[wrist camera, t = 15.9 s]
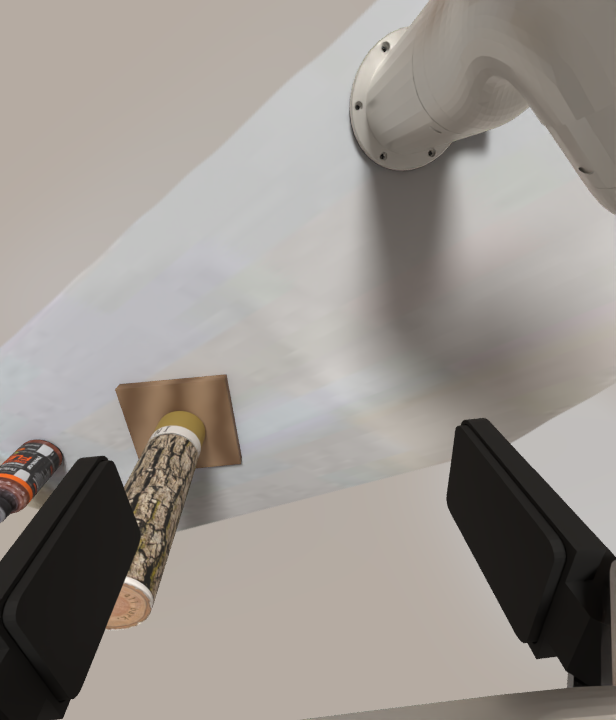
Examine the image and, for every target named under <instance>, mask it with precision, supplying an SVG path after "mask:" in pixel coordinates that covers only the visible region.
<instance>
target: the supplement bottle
mask: <svg viewBox="0 0 616 720" xmlns="http://www.w3.org/2000/svg"><path fill="white" fill-rule="evenodd" d="M61 462H62V455H61V452H60V451H59V449H58V448H57V447H56V446H55V445H53V444H51V443H50V442H47V441H44V440H30V441H28V442H26V443H24V444H23V445H22V446H21V447H19V448H18V449H17V450H16V451H15V452H14V453H13V454H12V455H11V456H10V457H9V458H8V459H7V460H6V461H5V462H4V463H3V464H2V465H1V466H0V523H1V522H2V521H4V520H5V519H6V517H7V516H9V515H10V514H12V513H15V512H19V511H20V510H22V509H23V508H25V507H26V506H27V504H28V503H29V502H30V501H31V500H32V498H33V497H34V496H35V495H36V494H37V492H38V491H39V490H40V489H41V487H42V486H43V485H44V484H45V483H46V481H47V480H48V479H49V478H50V477H51V475H52V474H53V473H54V472H55V471H56V469H57V468H58V467H59V466H60V464H61Z"/></svg>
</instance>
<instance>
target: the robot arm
mask: <svg viewBox="0 0 616 720" xmlns="http://www.w3.org/2000/svg"><path fill="white" fill-rule="evenodd" d="M382 47H384V48H385V49H386V51H385V52H383V51H382ZM356 105H358V106H359V110H356V109H355V106H356ZM529 107H530V108H531V109H532V110H533V112H534V113H535V115H536V116H537V118H538V119H539V121H540V122H541V124H543V125H544V126H546V128H547V129H548V131H549V132H550V134H551V135H552V137H553V138H554V140H555V141H556V143H557V144H558V146H559V147H560V148H561V150H562V151H563V153H564V154H565V156H566V157H567V159H568V160H569V162H570V163H571V165H572V166H573V168H574V169H575V171H576V172H577V174H578V175H579V177H580V178H581V180H582V181H583V183H584V184H585V185H586V187H587V188H588V190H589V191H590V192H591V193H592V195H593V196H594V197H595V198H596V200H597V201H598V202H599V203H600V204H601V205H602V206H603V207H604V208H605V209H607V210H608V211H610V212H611V213H613V214H614V215H616V0H429V2H428V3H427V4H426V6H425V7H424V8H423V10H422V11H421V12H420V13H419V15H418V16H417V17H416V19H415V20H414V21H413V23H412V24H411V25H410V26H409V27H404V28H400V29H398V30H395V31H393V32H391V33H389V34H388V35H386V36H385V37H384V38H382V39H381V40H379V41H378V42H377V43H376V45H375V46H374V47H373V48H372V49H371V50H370V51H369V52H368V54H367V55H366V57H365V58H364V60H363V62H362V63H361V65H360V67H359V69H358V71H357V74H356V76H355V79H354V82H353V85H352V91H351V96H350V117H351V125H352V128H353V131H354V135H355V137H356V139H357V141H358V143H359V145H360V147H361V148H362V150H363V151H364V152H365V153H366V155H367V156H368V157H369V158H370V159H372V160H373V161H374V162H375V163H377V164H379V165H381V166H383V167H384V168H388V169H392V170H401V171H405V170H412V169H416V168H419V167H422V166H424V165H426V164H428V163H430V162H432V161H433V160H435V159H436V158H437V157H439V156H440V155H441V154H442V153H443V152H444V151H445V150H446V149H447V148H448V147H449V146H450V144H451V143H452V142H453V141H457V140H460V139H463V138H466V137H470V136H473V135H476V134H479V133H483V132H486V131H488V130H491V129H494V128H497V127H499V126H501V125H504V124H506V123H508V122H510V121H511V120H513V119H515V118H516V117H517V116H519V115H520V114H521V113H523V112H524V111H525V110H526V109H528V108H529ZM429 151H430V152H431V155H430V156H429V155H428V152H429ZM381 154H382V155H383V159H380V155H381ZM447 505H448V508H449V511H450V513H451V515H452V517H453V518H454V520H455V522H456V524H457V526H458V528H459V530H460V531H461V533H462V535H463V537H464V539H465V541H466V543H467V545H468V546H469V548H470V550H471V552H472V554H473V555H474V557H475V559H476V561H477V563H478V565H479V567H480V569H481V570H482V572H483V574H484V576H485V578H486V579H487V582H488V584H489V585H490V587H491V589H492V591H493V593H494V595H495V596H496V598H497V600H498V602H499V604H500V606H501V608H502V610H503V611H504V613H505V615H506V617H507V619H508V621H509V623H510V624H511V626H512V628H513V630H514V632H515V634H516V635H517V637H518V638H519V640H520V641H521V642H523V643H528V645H529V647H530V648H531V650H532V652H533V654H534V656H535V658H536V659H540V658H549V657H558V659H559V660H560V662H561V663H562V665H563V667H564V669H565V670H566V671H567V672H568V680H567V688H564V689H554V690H544V691H534V692H525V693H514V694H504V695H495V696H487V697H479V698H471V699H463V700H454V701H447V702H438V703H430V704H422V705H414V706H405V707H398V708H389V709H381V710H374V711H365V712H357V713H350V714H342V715H334V716H326V717H318V718H310V719H303V720H616V557H615V556H614V555H613V554H612V552H611V551H610V550H609V549H608V548H607V547H606V546H605V545H604V544H603V543H602V542H601V541H600V539H599V538H598V537H596V535H595V534H594V533H593V532H592V531H591V530H590V529H589V528H588V527H587V526H586V524H584V522H583V521H582V520H581V519H580V518H579V517H578V516H577V515H576V514H575V512H573V510H572V509H571V508H570V507H569V506H568V505H567V504H566V503H565V502H564V501H563V500H562V498H560V496H559V495H558V494H557V493H556V492H555V491H554V490H553V489H552V488H551V487H550V486H549V484H548V483H547V482H546V481H545V480H544V479H543V478H542V477H541V476H540V475H539V474H538V473H537V472H536V470H535V469H533V468H532V467H531V466H530V465H529V464H528V462H527V461H526V460H525V459H524V458H523V457H522V456H521V455H520V454H519V453H518V452H517V451H516V449H515V448H514V447H513V446H512V445H511V444H510V443H509V442H508V441H507V440H506V439H505V438H504V436H503V435H502V434H501V433H500V432H499V431H498V430H497V429H496V428H495V427H494V426H493V425H492V424H491V422H490V421H489V420H487V419H486V418H479V419H469V420H464V421H463V422H462V423H461V426H457V427H456V430H455V437H454V444H453V452H452V459H451V467H450V474H449V482H448V489H447ZM140 537H141V534H140V529H139V526H138V523H137V521H136V518H135V516H134V513H133V510H132V508H131V505H130V502H129V500H128V497H127V494H126V492H125V489H124V487H123V484H122V481H121V479H120V476H119V473H118V471H117V468H116V466H115V464H114V462H113V461H109V460H108V459H107V458H106V457H105V456H96V457H86V458H80V459H78V460H77V461H76V463H75V464H74V465H73V467H72V468H71V469H70V470H69V472H68V473H67V474H66V476H65V477H64V478H63V480H62V481H61V482H60V484H59V485H58V486H57V488H56V489H55V490H54V491H53V493H52V494H51V495H50V497H49V498H48V499H47V501H46V502H45V503H44V505H43V506H42V507H41V509H40V510H39V511H38V513H37V514H36V515H35V516H34V518H33V519H32V521H31V522H30V523H29V524H28V526H27V527H26V528H25V530H24V531H23V532H22V534H21V535H20V536H19V537H18V539H17V540H16V541H15V543H14V544H13V545H12V547H11V548H10V549H9V551H8V552H7V553H6V555H5V556H4V557H3V558H2V560H1V561H0V720H57V719H63V717H64V714H65V712H66V709H67V707H68V705H69V702H70V700H71V699H74V698H75V697H76V696H77V695H78V694H79V692H80V690H81V688H82V686H83V683H84V681H85V678H86V676H87V673H88V671H89V668H90V666H91V663H92V661H93V658H94V656H95V653H96V651H97V649H98V646H99V643H100V641H101V639H102V636H103V634H104V631H105V629H106V626H107V624H108V621H109V619H110V616H111V614H112V611H113V609H114V606H115V604H116V601H117V599H118V596H119V594H120V591H121V589H122V586H123V584H124V581H125V579H126V576H127V574H128V571H129V569H130V566H131V564H132V561H133V559H134V556H135V554H136V551H137V549H138V546H139V543H140Z"/></svg>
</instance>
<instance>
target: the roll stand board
mask: <svg viewBox="0 0 616 720" xmlns="http://www.w3.org/2000/svg"><path fill="white" fill-rule="evenodd" d="M115 391H116V394H117V397H118V399H119V402H120V405H121V408H122V411H123V414H124V417H125V420H126V423H127V426H128V429H129V432H130V435H131V438H132V440H133V443H134V446H135V449H136V452H137V455H138V458H140V456H141V455H142V453H143V451H144V449H145V447H146V445H147V443H148V441H149V440H150V438H151V436H152V434H153V432H154V430H155V429H156V427H157V425H158V423H159V421H160V420H161V419H162V417H164V416H165V415H166V414H168V413H170V412H174V411H186V412H190V413H192V414H194V415H196V416H197V417H198V418H199V419H200V420H201V421H202V422H203V424H204V426H205V438H204V441H203V444H202V447H201V451H200V455H199V458H198V461H197V464H196V468H203V467H213V466H223V465H233V464H241V458H242V456H241V451H240V446H239V440H238V435H237V429H236V424H235V419H234V413H233V408H232V402H231V397H230V391H229V386H228V381H227V375H216V376H205V377H194V378H183V379H172V380H161V381H150V382H140V383H129V384H119V386H118V387H117V388H116V389H115Z"/></svg>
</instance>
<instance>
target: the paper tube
mask: <svg viewBox="0 0 616 720" xmlns="http://www.w3.org/2000/svg"><path fill="white" fill-rule="evenodd" d="M204 438H205V426H204V424H203V422H202V421H201V420H200V419H199V418H198V417H197V416H196V415H194V414H192V413H190V412H186V411H174V412H170V413H168V414H166V415H165V416H164V417H162V419H161V420H160V421H159V423H158V425H157V427H156V429H155V430H154V432H153V434H152V436H151V438H150V440H149V441H148V443H147V445H146V447H145V449H144V451H143V453H142V455H141V456H140V458H139V460H138V462H137V464H136V466H135V468H134V470H133V472H132V473H131V475H130V477H129V479H128V481H127V483H126V485H125V487H124V489H125V492H126V494H127V497H128V500H129V502H130V505H131V508H132V510H133V513H134V516H135V518H136V521H137V523H138V526H139V529H140V534H141V537H140V543H139V546H138V549H137V551H136V554H135V556H134V559H133V561H132V564H131V566H130V569H129V571H128V574H127V576H126V579H125V581H124V584H123V586H122V589H121V591H120V594H119V596H118V599H117V601H116V604H115V606H114V609H113V611H112V614H111V616H110V619H109V621H108V624H107V626H106V629H105V630H122V629H127V628H131V627H134V626H137V625H139V624H141V623H142V622H143V621H145V620H146V619H147V618H148V616H149V614H150V612H151V609H152V607H153V604H154V601H155V597H156V594H157V591H158V588H159V584H160V581H161V578H162V575H163V571H164V568H165V565H166V562H167V558H168V555H169V552H170V549H171V545H172V542H173V539H174V536H175V532H176V529H177V526H178V523H179V520H180V516H181V513H182V510H183V507H184V503H185V500H186V497H187V494H188V490H189V487H190V484H191V481H192V477H193V474H194V471H195V468H196V464H197V461H198V458H199V455H200V451H201V447H202V444H203V441H204Z"/></svg>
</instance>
